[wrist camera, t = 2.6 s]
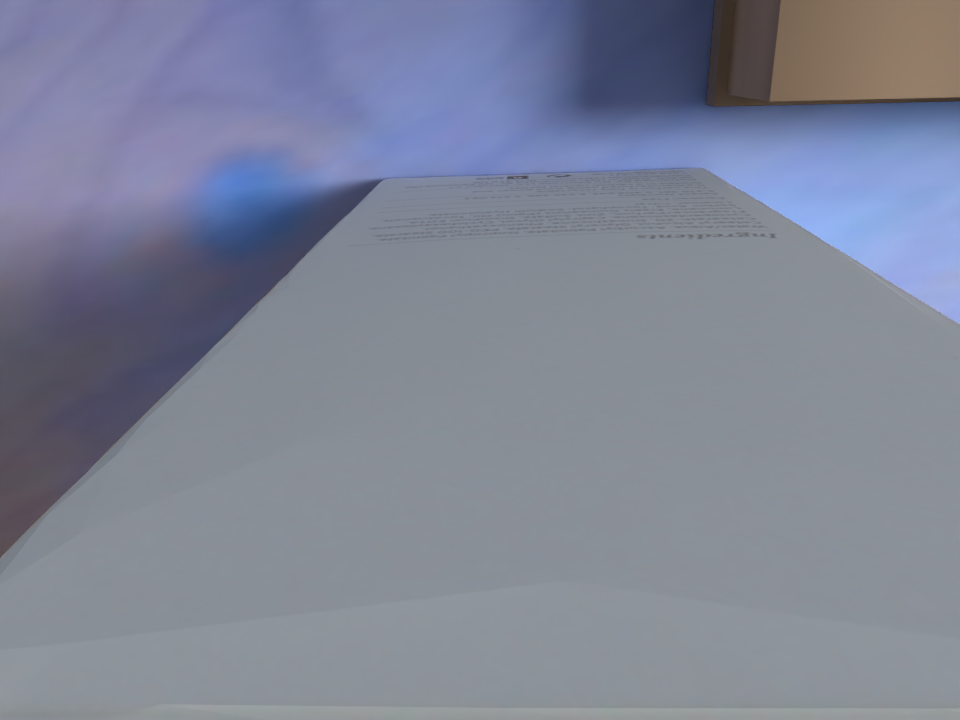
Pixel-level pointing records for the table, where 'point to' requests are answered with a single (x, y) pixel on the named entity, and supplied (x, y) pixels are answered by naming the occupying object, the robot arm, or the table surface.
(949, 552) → the small box
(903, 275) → the table surface
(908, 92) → the plinth
